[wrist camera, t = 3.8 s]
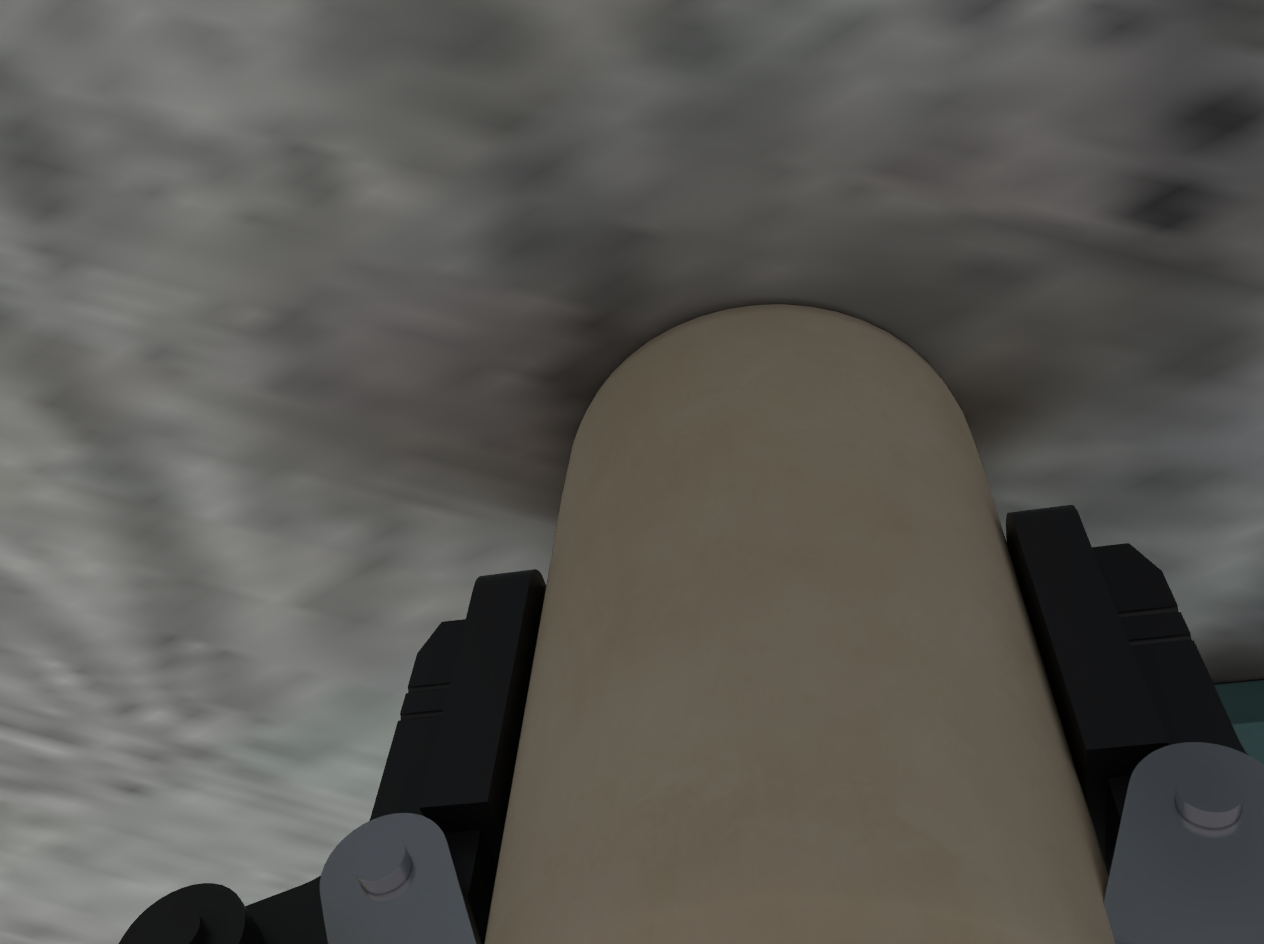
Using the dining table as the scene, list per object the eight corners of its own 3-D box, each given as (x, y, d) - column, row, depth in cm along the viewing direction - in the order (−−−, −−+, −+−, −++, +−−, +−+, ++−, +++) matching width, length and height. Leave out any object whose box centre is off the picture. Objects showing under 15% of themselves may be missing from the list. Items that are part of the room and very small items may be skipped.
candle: (628, 647, 19) (560, 1449, 11) (516, 345, 16) (300, 1148, 7) (991, 591, 18) (1226, 1437, 9) (949, 254, 14) (1242, 1080, 6)
